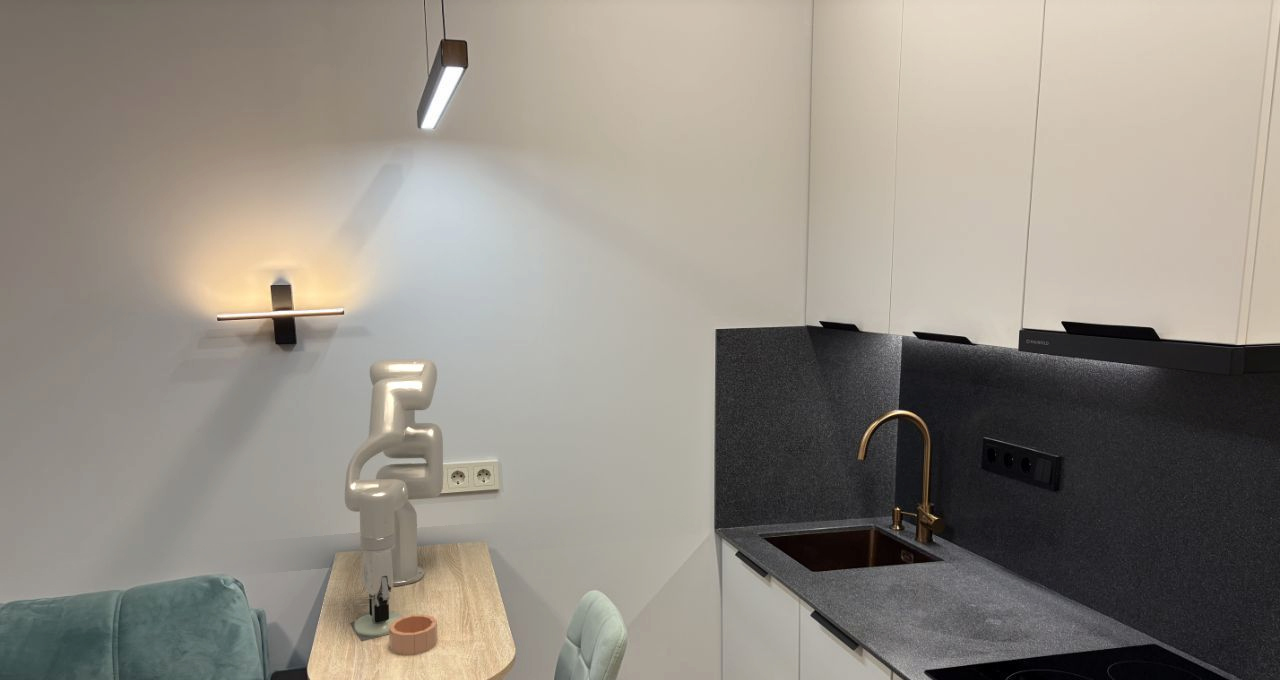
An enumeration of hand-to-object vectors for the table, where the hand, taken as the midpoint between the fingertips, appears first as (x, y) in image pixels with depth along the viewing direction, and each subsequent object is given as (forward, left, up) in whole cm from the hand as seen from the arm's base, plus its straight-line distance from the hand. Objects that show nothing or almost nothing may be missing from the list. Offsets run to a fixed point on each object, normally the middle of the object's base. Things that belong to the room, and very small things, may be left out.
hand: (379, 616), depth 181 cm
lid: (0, 0, -2) cm, 2 cm away
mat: (0, 0, -3) cm, 3 cm away
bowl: (+13, +4, -3) cm, 14 cm away
